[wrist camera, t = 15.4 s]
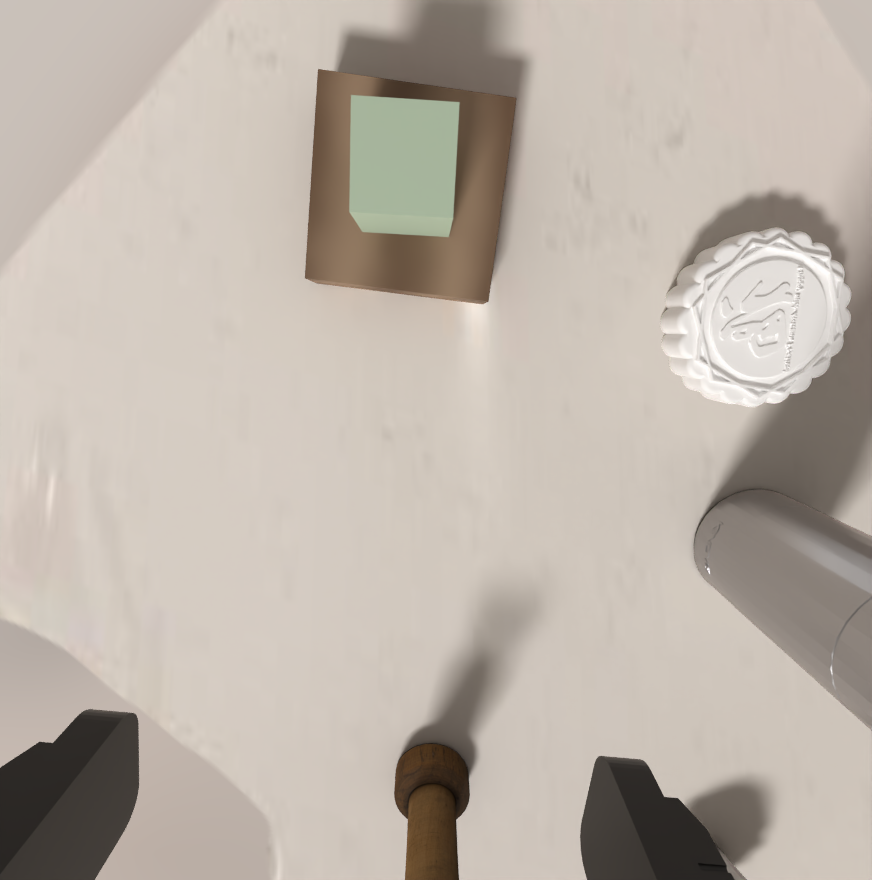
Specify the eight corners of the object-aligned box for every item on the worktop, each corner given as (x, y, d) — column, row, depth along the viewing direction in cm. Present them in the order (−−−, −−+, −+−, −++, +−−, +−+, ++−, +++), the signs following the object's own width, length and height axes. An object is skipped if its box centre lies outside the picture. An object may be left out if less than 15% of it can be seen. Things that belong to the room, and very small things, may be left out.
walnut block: (506, 124, 34) (516, 97, 30) (481, 304, 37) (488, 301, 33) (330, 99, 34) (318, 69, 30) (318, 283, 36) (304, 278, 32)
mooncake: (665, 235, 36) (691, 224, 32) (831, 234, 36) (875, 224, 32) (650, 402, 38) (673, 409, 35) (805, 401, 38) (843, 408, 35)
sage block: (453, 142, 31) (459, 102, 25) (448, 237, 32) (453, 218, 26) (364, 136, 31) (350, 94, 25) (362, 232, 32) (349, 211, 26)
